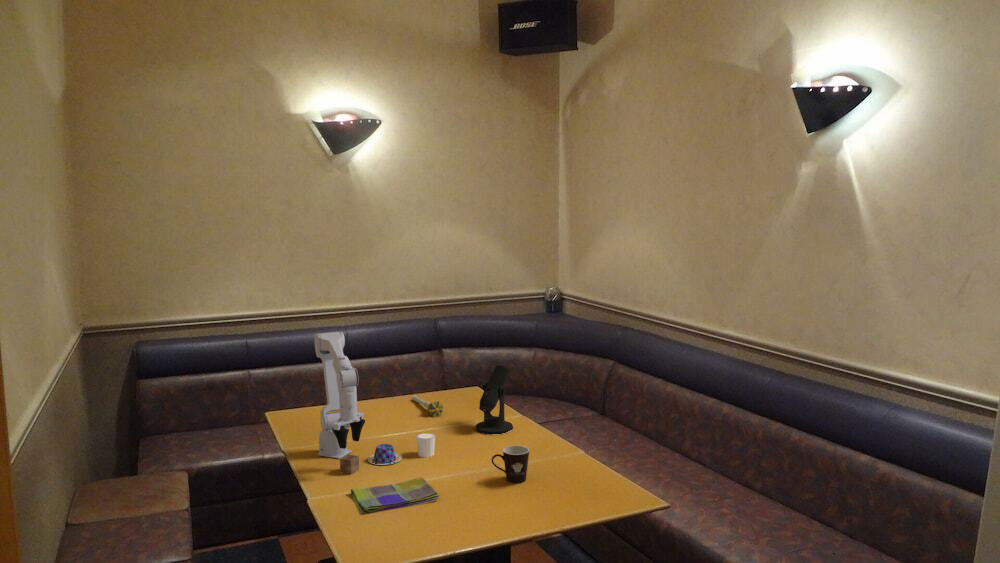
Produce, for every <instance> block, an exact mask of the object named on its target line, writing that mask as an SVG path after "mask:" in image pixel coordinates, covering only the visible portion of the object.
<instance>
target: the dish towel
mask: <svg viewBox="0 0 1000 563" xmlns="http://www.w3.org/2000/svg"><path fill="white" fill-rule="evenodd" d="M350 493H351V496H352V499H353V501H354V504H355V505H356V507H357V509H358V510H359V512H360V514H361V515H364V514H372V513H380V512H384V511H390V510H398V509H403V508H408V507H409V508H410V507H415V506H421V505H426V504H431V503H436V499H439V498H440V496H441V495H440V494H439V492H437V491H436V490H435V489H434V488H433V486H431V485H430V484H429V483H428V482H427V481H426V480H425V479H424V478H423V477H416V478H412V479H409V480H405V481H401V482H396V483H392V484H386V485H375V486H371V487H362V488H360V487H359V488H350Z"/></svg>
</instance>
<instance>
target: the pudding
mask: <svg viewBox="0 0 1000 563" xmlns="http://www.w3.org/2000/svg"><path fill="white" fill-rule="evenodd" d="M374 450H375V451H374V454H373V455H370V456H369V457H368V458H367V462H369V464H373V465H376V466H377V465H378V466H380V465H381V466H386V465H387V466H388V465H389V463H391V462H392V463H391V464H390V465H393V464H396V463H398V462H400V461H401V460H402V459H403V456H402V455H401V454H399V453H396V452H395V449H394V446H393V445H392V444H389V443H381V444H378V445H377V446H376V447H375V449H374ZM396 457H399V460H398V461H396V462H395V460H397V458H396ZM373 458H374V459H373ZM372 459H373V462H374V463H372V462H371V460H372ZM375 462H376V463H377V464H375ZM393 462H395V463H393ZM380 463H381V464H380ZM385 463H386V464H385Z"/></svg>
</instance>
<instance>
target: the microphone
mask: <svg viewBox="0 0 1000 563" xmlns="http://www.w3.org/2000/svg"><path fill="white" fill-rule="evenodd" d="M510 374H511V371H510V369H509V368H508V367H506V366H504V365H501V364H498V365H496V366H495V367H494V369H493V370H492V374H491V375H490V377H489V379H488V382H486V383H484V384H483V386H482V390H483V393H482V394H481V397H480V400H479V408H478V409H479V410H480V411H481V412H483V420H482V421H480V422H478V423H476V424H475V431H476V430H477V431H478V433H479V432H480V433H479V434H482V433H484V434H483V435H487V434H501V435H503V434H502V433H506V432H508V431H510V430H512V429H513V430H514V424H513V423H511V422H509V421H507V420H505V393H506V388H505V386H506V383H507V381H508V379H509V377H510ZM498 402H499V404H498ZM497 404H498V405H499V411H498V416H497V415H493V414H492V413H491V412H492V411H494V409H495V408H496V407H497ZM513 430H512V431H513ZM477 431H476V432H477ZM506 434H507V433H506Z"/></svg>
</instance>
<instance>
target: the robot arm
mask: <svg viewBox="0 0 1000 563" xmlns="http://www.w3.org/2000/svg"><path fill="white" fill-rule="evenodd" d="M345 343H346V339H345V335H344V332H342V331H341V330H340V331H334V332H324V333H323V332H322V333H321V332H320V333H319V332H318V333H317V332H316V333H315V335H314V350H315V354H316V358H318V359H319V358H320V360H321V362H322V368H323V378H324V385H325V394H326V395H325V396H326V404H325V406H324V407H322V408H321V409H320V410H321V411H320V426H321V431H320V432H319V433H318V434H319V435H318V451H319V452H318V453H317V456H322V457H327V458H333V459H339V460H340V458H342V457H344V456H346V455H348V454H349V455H350V453H352V452H353V450H351V449H348V444H347V443H348V442H347V441H348V440H347V439H348V435H349V432H350V430H351V439H352V441H353V442H359V441H360V439H361V438H360V437H361V434H362V429H363V427H364V425H365V424H366V419H364V412H362V411H358V395H357V394H358V392H357V387H358V386H359V382H360V378H359V372H358V369H357V368H355V367H353V366H352V364H351V361H350V359H349V358H348V356H347V355H345V354H344V347H345ZM349 428H350V429H349Z"/></svg>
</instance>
